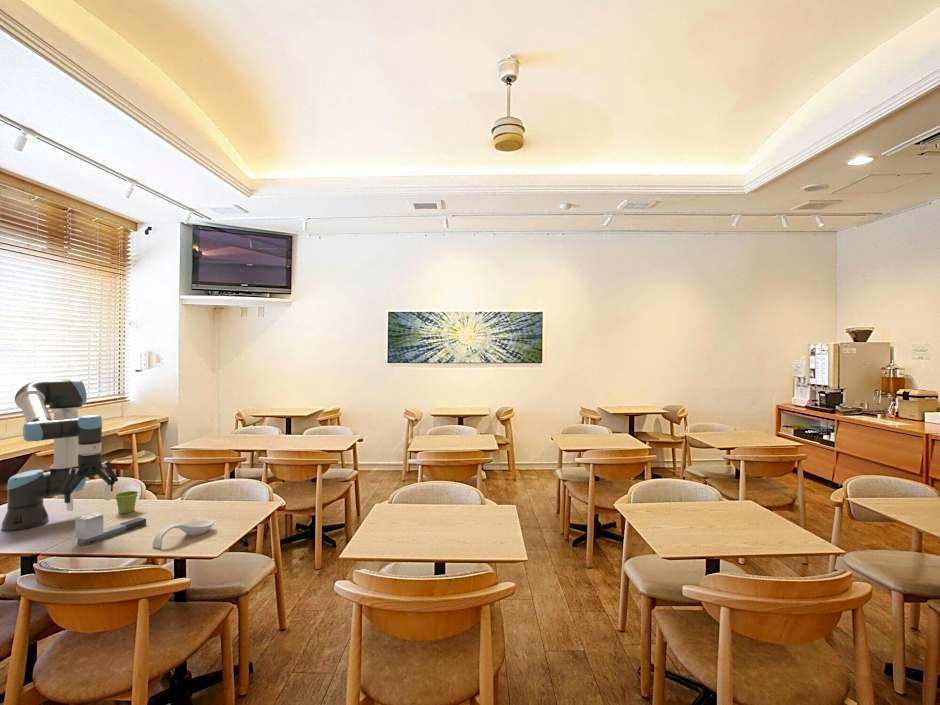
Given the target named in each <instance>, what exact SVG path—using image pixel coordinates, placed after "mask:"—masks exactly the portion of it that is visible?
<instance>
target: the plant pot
mask: <svg viewBox="0 0 940 705" xmlns="http://www.w3.org/2000/svg"><path fill="white" fill-rule="evenodd" d="M138 494H139V491H138V490H129V491H123V492H122V491H121V492H119V493H115V494H114V498H115V500H116V505H117V509H118V513H119V514H126V513H127V514H129V513H132V512H134V511H135V507H136V503H137V497H138Z"/></svg>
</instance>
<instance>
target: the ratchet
mask: <svg viewBox="0 0 940 705" xmlns="http://www.w3.org/2000/svg"><path fill="white" fill-rule="evenodd" d="M143 526H147V518H144V517H140V516H139V517H135V518H133V519H129V520H126V521H123V522H120V523H119V524H115V525H112V526H109V527H107V528H103V534H101V535H98V536H95V537H92V538H89V539H86V540H84V539H80V538H77V544H78V545H82V546H87V545H91V544H94V543H96V542H99V541H103V540H105V539H107V538H111V537H113V536H116V535H119V534H122V533H126V532H129V531H131V530H134V529H138V528H140V527H143Z"/></svg>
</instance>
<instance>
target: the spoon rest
mask: <svg viewBox="0 0 940 705" xmlns="http://www.w3.org/2000/svg"><path fill="white" fill-rule="evenodd" d="M214 524H215V522H214V521H212V520H208V519H207V520H206V519H205V520H204V519H203V520H202V519H201V520H195V521H194V520H193V521H187V522H181V523H177V522H176V523H170V524H168V525H166V526H164V527H162V529H161V530H159V531H158V533H157V534H156V535H155V537H154V539H153V541H152V547H153V548H154V549H158V550H159V549H162V547H163V544H162V543H163V538H164V536H165V535H166V534H167V533H169V531H171V530H172V529H179V530H180V531H182V532H184V533H185V534H187V535H188V536H200V535H202V534H204V533H206V532H208V531H209V530H210V529H211V528H212V527H213V526H214Z"/></svg>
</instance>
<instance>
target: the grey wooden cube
mask: <svg viewBox="0 0 940 705" xmlns="http://www.w3.org/2000/svg"><path fill="white" fill-rule="evenodd" d="M74 521H75V529H74V530H75V531H74V532H75V533H74V534H75V536H74V537H75V538H77V539H78V538H80V539H84V540H86V539H89V538H92V537H95V536H98V535H101V534H103V529H104V514H103V513H98V512H91V513H87V514H83V515H79V516H77V517H75V520H74Z"/></svg>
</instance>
